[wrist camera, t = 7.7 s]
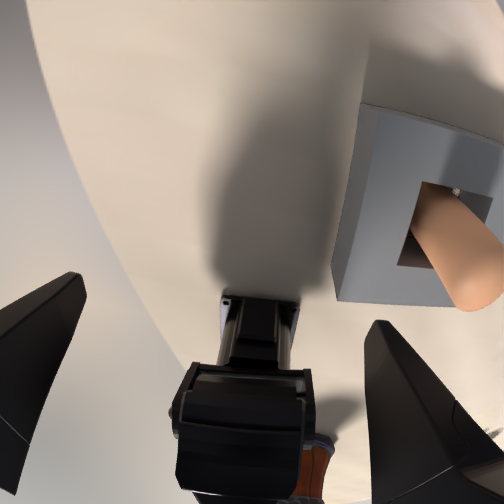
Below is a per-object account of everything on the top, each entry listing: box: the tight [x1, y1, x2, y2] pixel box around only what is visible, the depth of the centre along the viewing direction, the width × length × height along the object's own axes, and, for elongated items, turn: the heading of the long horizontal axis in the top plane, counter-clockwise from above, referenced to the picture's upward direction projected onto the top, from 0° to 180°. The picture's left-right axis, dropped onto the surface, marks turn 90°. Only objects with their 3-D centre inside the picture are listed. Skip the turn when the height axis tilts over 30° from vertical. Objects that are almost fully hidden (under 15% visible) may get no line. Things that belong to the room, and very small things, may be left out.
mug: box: [279, 434, 335, 504], centre depth 37 cm, size 18×12×15 cm, turn 131°
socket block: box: [331, 103, 504, 307], centre depth 18 cm, size 12×12×4 cm
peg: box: [409, 181, 504, 312], centre depth 16 cm, size 4×4×9 cm
